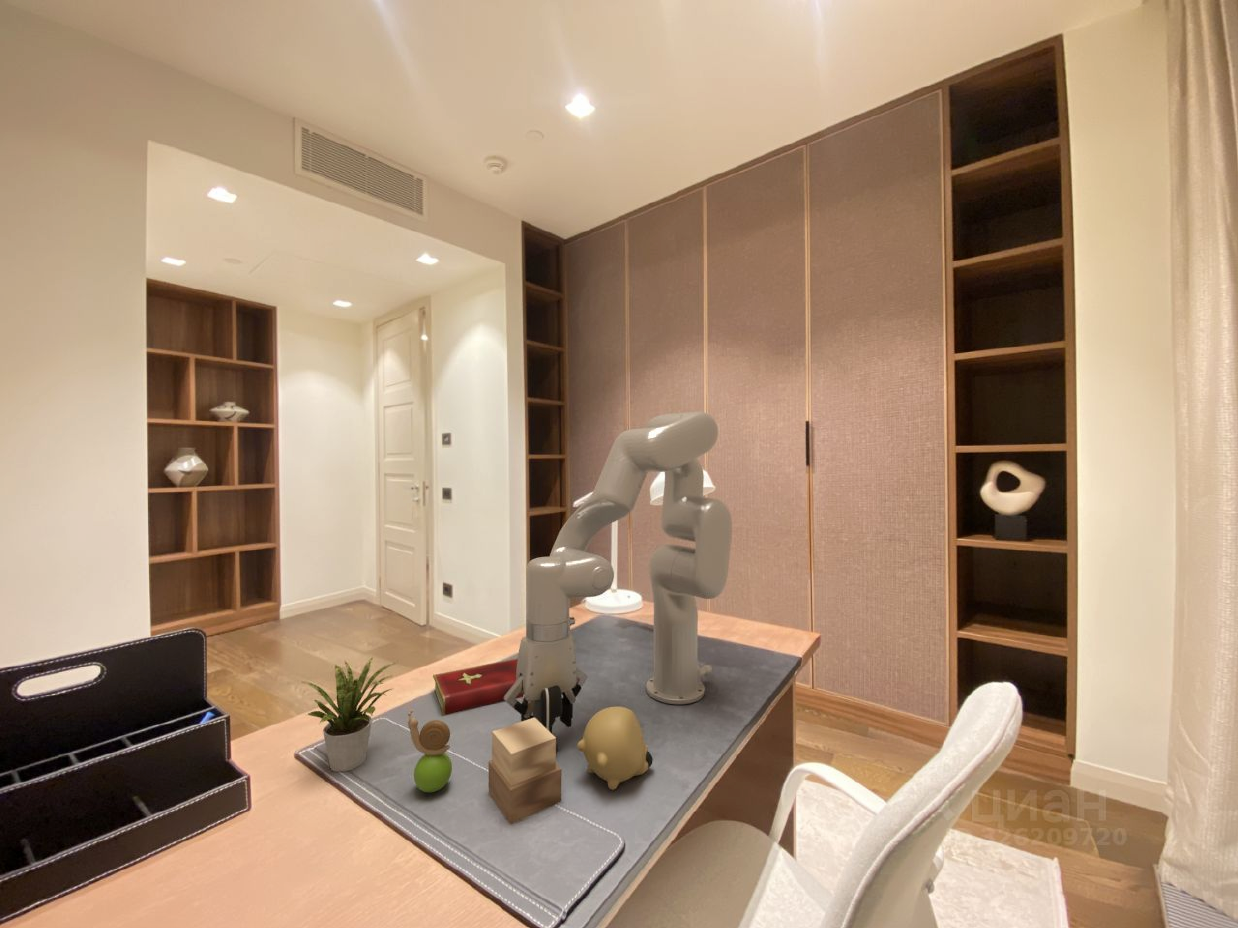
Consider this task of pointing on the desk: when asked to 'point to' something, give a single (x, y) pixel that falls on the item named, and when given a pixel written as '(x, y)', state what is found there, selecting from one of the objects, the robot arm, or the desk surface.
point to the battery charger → (549, 707)
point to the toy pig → (615, 746)
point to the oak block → (523, 750)
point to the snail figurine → (431, 754)
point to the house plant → (348, 718)
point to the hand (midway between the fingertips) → (547, 729)
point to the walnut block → (524, 793)
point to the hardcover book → (475, 686)
